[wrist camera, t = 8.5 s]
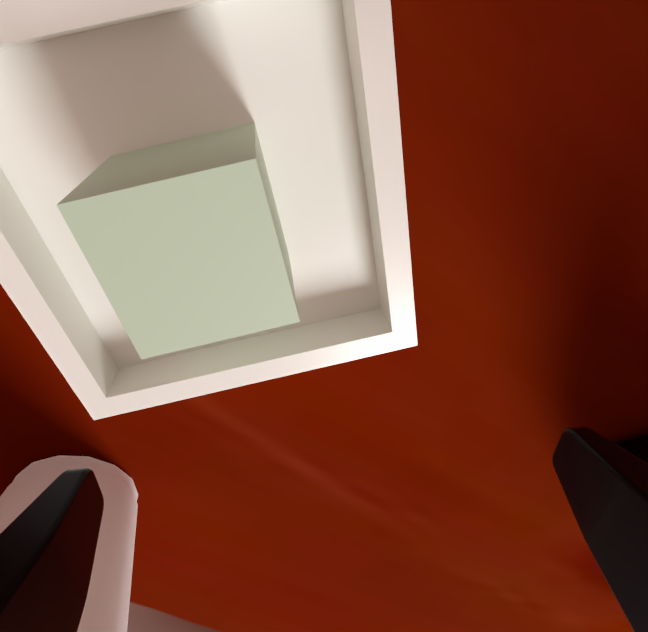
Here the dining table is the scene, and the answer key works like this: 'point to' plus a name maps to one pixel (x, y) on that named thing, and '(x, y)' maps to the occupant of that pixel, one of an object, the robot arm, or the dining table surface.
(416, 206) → the dining table surface
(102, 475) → the foam cup
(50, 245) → the tray
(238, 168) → the cube
